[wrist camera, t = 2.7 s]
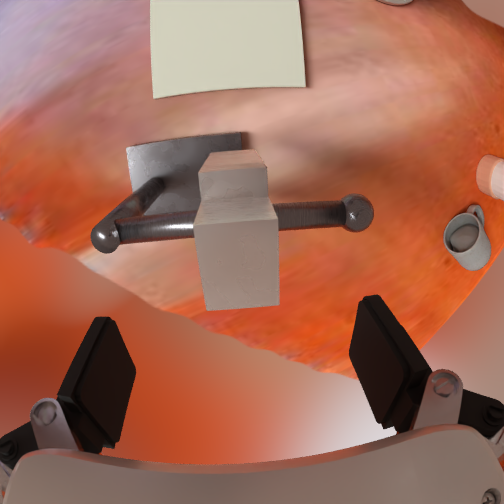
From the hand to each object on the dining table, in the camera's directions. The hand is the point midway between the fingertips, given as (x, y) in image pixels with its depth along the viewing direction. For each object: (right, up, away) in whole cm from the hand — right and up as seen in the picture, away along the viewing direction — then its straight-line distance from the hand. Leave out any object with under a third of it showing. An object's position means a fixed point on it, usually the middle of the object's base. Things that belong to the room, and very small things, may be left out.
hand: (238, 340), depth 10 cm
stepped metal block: (-1, +9, +17) cm, 19 cm away
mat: (-3, +31, +16) cm, 34 cm away
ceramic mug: (+37, +8, +30) cm, 49 cm away
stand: (-3, +13, +25) cm, 28 cm away
